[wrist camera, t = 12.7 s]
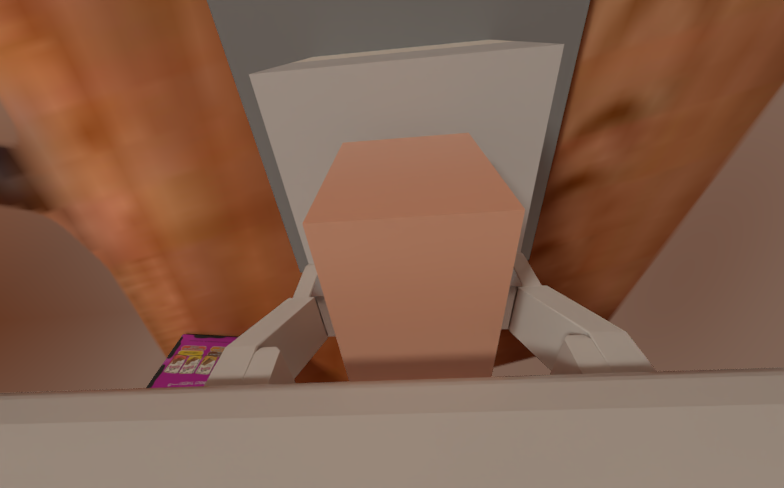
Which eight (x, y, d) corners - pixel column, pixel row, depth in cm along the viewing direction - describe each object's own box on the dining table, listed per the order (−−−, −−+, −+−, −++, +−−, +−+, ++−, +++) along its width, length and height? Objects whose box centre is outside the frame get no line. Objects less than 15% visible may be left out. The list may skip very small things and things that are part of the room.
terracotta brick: (468, 132, 9) (525, 209, 5) (457, 308, 14) (482, 422, 10) (342, 142, 10) (302, 223, 5) (372, 312, 14) (362, 425, 10)
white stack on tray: (596, -69, 15) (847, -200, 6) (524, 253, 26) (582, 352, 18) (208, -24, 16) (6, -85, 8) (303, 265, 27) (263, 363, 19)
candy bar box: (196, 357, 36) (78, 547, 23) (183, 331, 33) (38, 531, 20) (288, 363, 37) (225, 553, 23) (283, 338, 34) (207, 538, 20)
